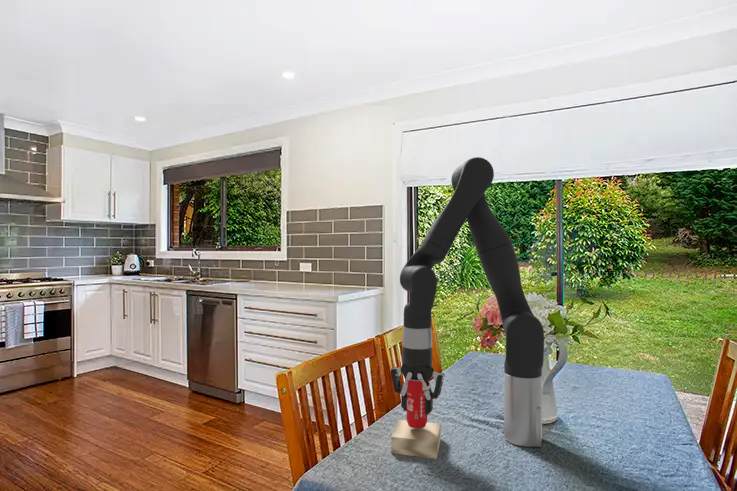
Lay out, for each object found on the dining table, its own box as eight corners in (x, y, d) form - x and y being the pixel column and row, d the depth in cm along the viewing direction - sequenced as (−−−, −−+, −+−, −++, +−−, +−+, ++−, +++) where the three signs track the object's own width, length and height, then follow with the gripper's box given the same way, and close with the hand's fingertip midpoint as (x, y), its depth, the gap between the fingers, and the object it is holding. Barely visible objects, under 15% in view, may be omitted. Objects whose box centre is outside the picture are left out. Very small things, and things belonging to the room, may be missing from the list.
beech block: (440, 439, 115) (440, 423, 115) (436, 458, 104) (436, 441, 104) (399, 434, 117) (399, 419, 117) (391, 453, 107) (391, 436, 107)
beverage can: (426, 430, 108) (426, 381, 108) (405, 428, 109) (405, 379, 109) (427, 422, 113) (428, 375, 113) (407, 420, 114) (408, 373, 114)
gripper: (448, 344, 111) (448, 411, 111) (395, 339, 117) (395, 402, 117) (441, 350, 105) (440, 421, 105) (385, 344, 111) (384, 412, 110)
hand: (416, 411), depth 111 cm, fingers closed on beverage can, 5 cm apart
